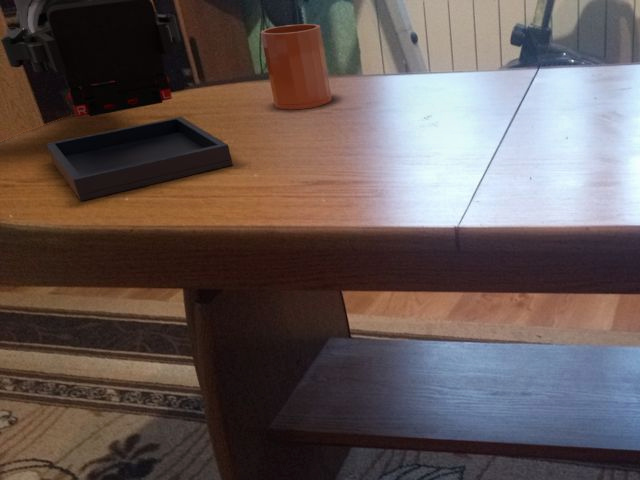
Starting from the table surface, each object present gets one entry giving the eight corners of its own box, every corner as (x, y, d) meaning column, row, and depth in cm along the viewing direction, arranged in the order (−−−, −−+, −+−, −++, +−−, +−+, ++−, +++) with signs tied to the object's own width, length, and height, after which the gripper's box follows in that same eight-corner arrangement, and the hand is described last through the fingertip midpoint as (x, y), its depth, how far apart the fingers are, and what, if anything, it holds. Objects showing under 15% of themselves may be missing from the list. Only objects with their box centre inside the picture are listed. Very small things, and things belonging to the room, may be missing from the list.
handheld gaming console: (153, 87, 81) (125, -13, 76) (183, 105, 72) (153, -7, 67) (62, 103, 77) (26, -1, 72) (82, 124, 68) (42, 7, 63)
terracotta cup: (266, 103, 98) (251, 30, 93) (317, 93, 101) (305, 22, 96) (288, 112, 92) (273, 36, 88) (341, 101, 96) (329, 27, 91)
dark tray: (52, 162, 80) (45, 143, 79) (185, 134, 86) (181, 116, 85) (81, 201, 68) (73, 179, 67) (233, 165, 74) (228, 144, 73)
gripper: (174, 47, 91) (235, 69, 74) (-23, 79, 81) (-1, 112, 65) (156, -21, 87) (217, -12, 71) (-53, 4, 77) (-38, 20, 61)
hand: (112, 47), depth 68 cm, fingers closed on handheld gaming console, 9 cm apart
